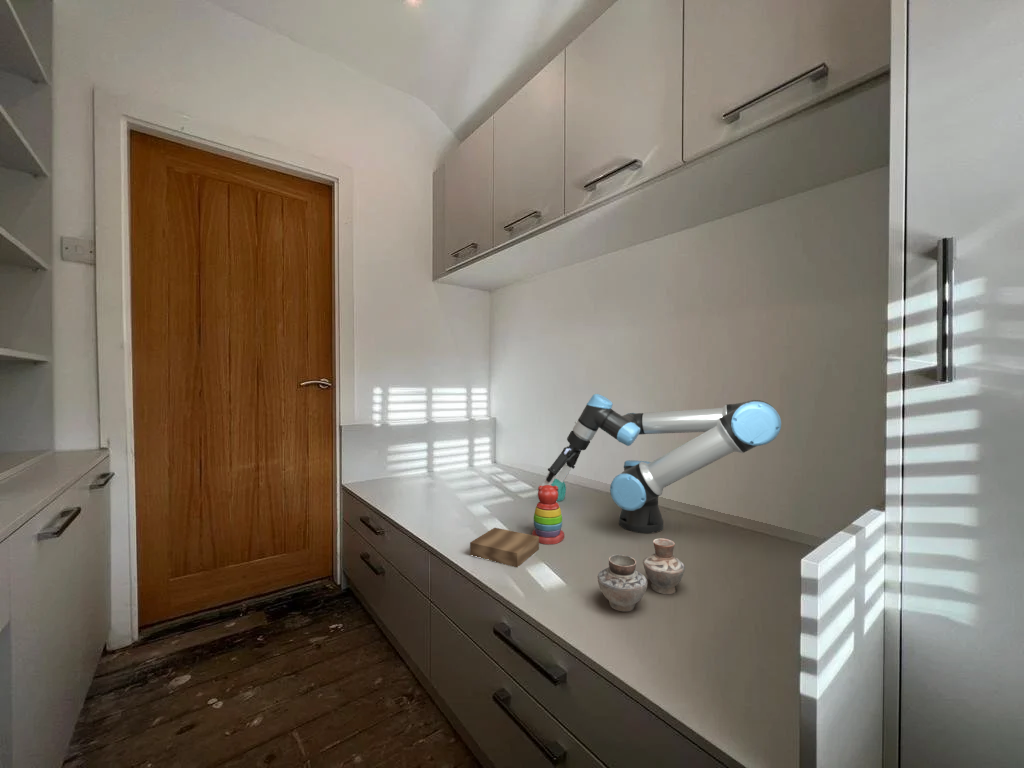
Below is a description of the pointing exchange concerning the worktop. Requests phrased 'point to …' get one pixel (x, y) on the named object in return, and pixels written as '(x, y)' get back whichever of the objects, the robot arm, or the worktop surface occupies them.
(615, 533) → the worktop surface
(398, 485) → the worktop surface
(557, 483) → the decorative dice
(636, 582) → the pottery
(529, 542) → the plinth
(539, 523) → the stacking bear
